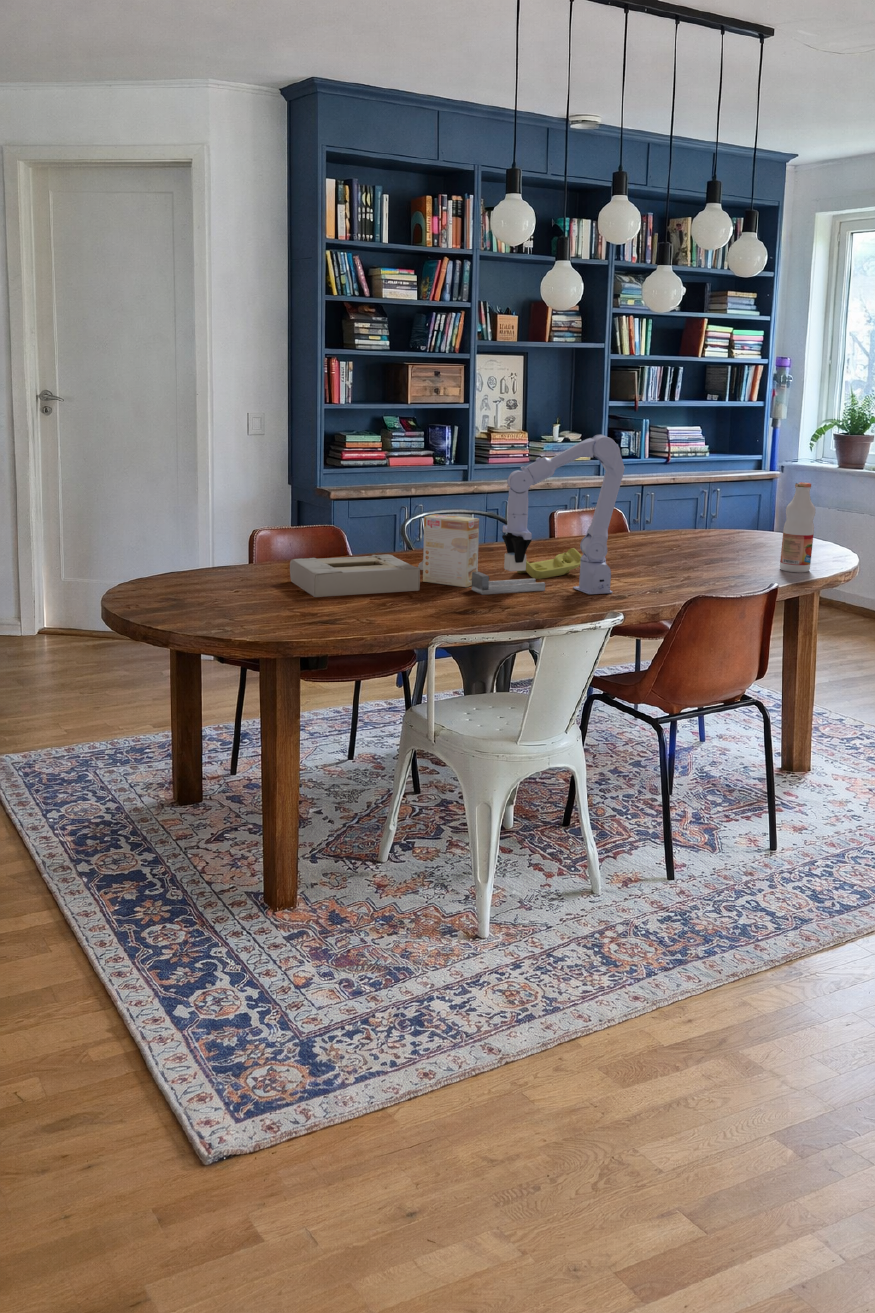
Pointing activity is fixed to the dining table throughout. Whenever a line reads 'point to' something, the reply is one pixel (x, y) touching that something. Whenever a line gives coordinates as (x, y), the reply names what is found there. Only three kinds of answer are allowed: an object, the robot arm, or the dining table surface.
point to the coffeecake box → (450, 549)
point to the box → (354, 575)
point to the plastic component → (554, 565)
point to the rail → (503, 585)
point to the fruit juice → (798, 531)
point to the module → (513, 563)
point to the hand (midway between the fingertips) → (515, 561)
